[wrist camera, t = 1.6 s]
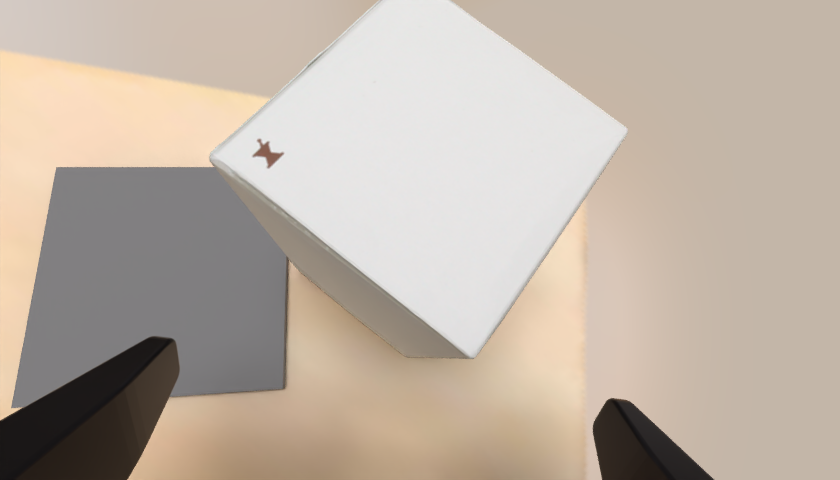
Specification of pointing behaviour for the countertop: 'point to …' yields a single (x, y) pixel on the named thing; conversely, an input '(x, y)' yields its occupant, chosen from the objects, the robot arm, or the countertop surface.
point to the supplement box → (420, 172)
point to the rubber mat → (155, 281)
